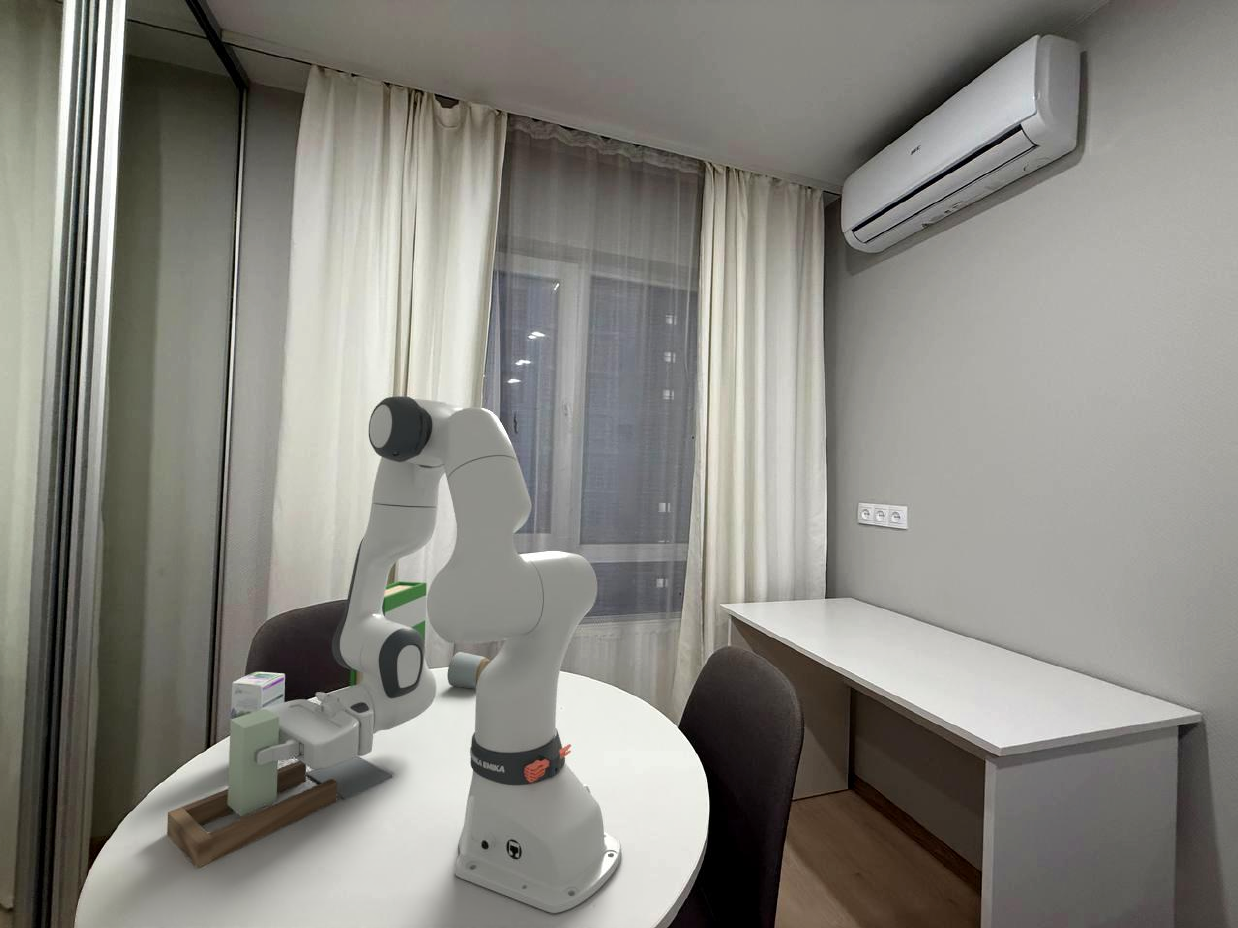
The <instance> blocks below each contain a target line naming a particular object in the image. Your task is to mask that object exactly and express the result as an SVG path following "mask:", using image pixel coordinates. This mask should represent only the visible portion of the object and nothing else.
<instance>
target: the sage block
mask: <svg viewBox="0 0 1238 928" xmlns="http://www.w3.org/2000/svg"><path fill="white" fill-rule="evenodd" d="M229 732H230V733H229V749H228V750H229V752H228V754H229V755H228V756H229V758H228V782H227V789H228V804H227V805H228V806H230V807H231V808H232V809H233V810H234V811H235V812H234V813H236V814H238V815H239V816H240V817H243V816H245V815H247V814H250V813H251V812H255V811H256V810H259V809H261V808H263V807H266V806H268V805H269V804H273V803H274V802H276V801H277V795H278V793H277V769H279V768H278V765H279V764H278V763H279V762H278V761H271V762H268V763H266V764H263V765H259V764H258V763H256V762H255V761H254V757H255V756H254V753H255V751H256V750H257V749H260V748H263V747H265V746H270V747H272V746H276V745H278V740H279V716H277V715H275V714H273V713H272V712H270V711H268V710H266V709H263V710H260V711H257V712H254V713H250V714H247V715H244V716H241V717H237V718H234V719H231V718H230V728H229Z"/></svg>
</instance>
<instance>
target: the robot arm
mask: <svg viewBox="0 0 1238 928" xmlns="http://www.w3.org/2000/svg"><path fill="white" fill-rule="evenodd" d="M368 438H369V443H370V445H371V446H372V448H373V450H374V452H375V453H376V454H377V455H378V456H379V457H380V460H379V464H378V467H377V472H376V475H375V480H374V484H373V489H372V497H371V503H370V504H371V506H370V512H369V517H368V518H369V519H368V523H367V526H366V529H365V533H364V536H362V539H361V540H360V543H359V546H358V549H357V553H356V557H355V560H354V564H353V565H354V566H353V568H352V569H353V570H352V575H351V580H350V584H349V589H348V592H347V593H348V594H347V599H346V603H345V608H344V611H343V614H342V616H341V618H340V619H339V622H338V625H337V627H336V629H335V632H334V633H333V636H332V640H331V652H332V653H331V654H332V655H333V659H334V660H335V661H336V663H337V664H338V665H339V666H341V667H343V668H345V669H349V670H350V671H351V670H355V671H359V672H361V673H363V680H362V682H361V683H359V684H357V685H354V686H350V685H349V686H348V687H344V688H341V689H338V690H335V691H331V692H328V693H326V694H327V695H325V697H324V698H323V700H322V702H321V701H320V702H321V703H320V704H319V703H317V702H312V701H311V700H308V699H304V698H301V699H299V698H298V699H294V700H288V701H284V703H280V704H276V705H272V706H268V707H265V708H262V709H261V710H263V709H266V710H268V711H270V712H272V713H273V714H275V715H277V716H279V740H278V745H276V746H272V747H270V746H265V747H263V748H260V749H257V750H256V751H255V753H254V756H255V757H254V761H255V762H256V763H258V764H259V765H263V764H266V763H268V762H271V761H286V760H287V761H289V760H291V759H293V758H295V759H296V760H297V761H301V762H302V763H304V764H306V767H309V768H310V769H311V770H314V769H315V770H316V769H326V768H329V767H332V766H335V765H337V764H340V763H342V762H345V761H347V760H350V759H352V758H354V757H355V756H356V755H357V756H359V757H362V756H366V755H367V754H370V753H371V752H373V751H372V750H373V741H374V734H375V733H377V732H379V731H385V730H390V729H393V728H396V727H398V726H400V725H403V724H405V723H407V722H409V721H412V720H413V719H415V718H417V717H419V716H420V715H422V714H423V713H424V712H426V711H427V709H429V708H430V706H432V704H433V702H434V700H435V698H436V694H437V680H436V676H435V675H434V673H433V671H431V669H430V668H429V667H428V665H427V662H426V657H425V654H426V653H425V652H426V646H425V645H426V643H425V644H424V640H423V638H422V636H421V634H420V633H419V632H418V631H417V630H415V629H413V628H410V627H407V626H405V625H402V624H399V623H395V622H392V621H389V620H386V618H385V617H384V615H383V612H382V605H383V600H384V595H385V590H386V585H388V579H389V574H390V571H391V569H392V568H393V566H394V565H395V563H396V562H398V561H399V560H400V559H401V558H404V557H407V556H409V555H412V554H414V553H416V552H419V550H421V549H422V548H423V547H425V546H426V545H427V544H428V543H429V542H430V541H431V539H432V537H433V534H434V533H435V529H436V526H437V525H436V524H437V519H438V518H437V517H438V508H439V506H438V505H439V489H440V481H441V479H442V477H443V476H444V474H445V478H446V481H447V485H448V489H449V492H450V493H449V494H450V497H451V501H452V506H453V511H454V517H455V521H456V522H455V523H456V541H455V545H454V548H453V552H452V554H451V556H450V558H449V560H448V561H447V563H446V564H445V566H443V568H441V569H440V571H438V573H437V574H436V576H435V577H434V578H433V581H431V584H430V586H429V590H428V593H427V595H426V612H427V613H426V614H427V616H428V621H429V623H430V625H431V627H432V629H433V630H434V631H435V633H436V634H437V635H438V636H439V637H440V638H441V639H442V640H443V641H445V642H447V643H450V644H485V643H486V644H487V643H490V642H494V641H499V640H503V639H505V642H504V644H503V646H502V647H501V649H500V651H499V653H497V655H496V656H495V657H494V658H493V659H492V660H491V661H490V663H489V664H488V665H487V666H486V667H485V668H484V670H483V671H482V673H481V674H480V676H479V679H478V682H477V686H476V689H475V714H474V715H475V716H474V717H475V718H474V732H473V734H472V736H471V743H470V744H471V745H470V747H469V754H470V755H469V756H470V763H469V764H470V767H471V769H472V775H471V780H470V785H469V786H470V787H469V791H468V796H467V801H466V807H465V814H464V815H465V816H464V822H463V827H462V828H463V829H462V831H461V834H460V837H459V841H458V842H459V843H458V847H459V849H458V850H459V853H458V854H459V855H458V857H457V859H456V862H455V868H454V874H455V875H456V877H458V878H460V879H462V880H464V881H465V880H466V881H467V882H471V883H472V884H476V885H477V886H480V887H483V888H485V889H488V890H491V891H493V892H496V893H498V894H500V895H503V896H507V897H509V898H510V899H513V900H516V901H519V902H521V903H525V904H527V905H529V906H531V907H535V908H536V909H540V910H541V911H545V912H548V913H550V914H557V913H561V912H565V911H567V910H570V909H573V908H574V907H576V906H578V905H580V904H582V903H583V902H585V901H586V900H587V899H589V898H590V897H591V896H593V895H594V894H595V893H596V892H598V890H599V889H600V888H602V886H603V885H604V884H605V883H606V882H607V881H608V880H609V879H610V878H611V877H612V875H613V874H614V873H615V871H616V869H617V867H618V866H619V863H620V861H621V857H622V845H621V842H620V841H619V840H618V839H616V837H614V836H613V835H611V834H610V833H608V832H607V831H606V830H605V829H604V828H605V827H604V820H603V819H604V818H603V814H602V810H601V807H600V805H599V802H598V801H597V800H596V799H595V797H594V796H592V794H591V790H590V789H589V786H588V785H587V784H585V783H582V781H580V779H579V778H578V776H577V775H576V774H575V773H574V771H572V769H571V768H570V767H569V766H568V765H567V762H566V756H568V755H569V754H570V753H571V750H569V749H570V748H571V747H572V745H571V744H570V743H569V744H567V745H566V746H564V747H563V744H562V742H561V738H560V734H559V731H558V729H557V728H556V725H557V724H556V721H557V720H556V719H557V717H556V716H557V697H558V685H559V684H558V683H559V677H560V671H561V667H562V665H563V660H564V657H565V655H566V651H567V649H568V646H569V644H570V641H571V640H572V637H573V634H574V633H575V631H576V629H577V627H578V626H579V624H580V623H581V622H582V619H583V618H584V617H585V616H586V615H587V614H588V612H590V611H591V610H592V608H593V606H594V604H595V602H596V599H597V595H598V580H597V576H596V572H595V570H594V568H593V566H592V565H591V563H590V562H589V560H588V559H586V558H585V557H584V556H582V555H580V554H577V553H573V552H572V553H571V552H566V551H559V550H549V551H547V550H546V551H538V552H530V553H529V552H527V553H518V552H517V550H516V546H515V542H514V534H515V533H517V531H518V530H520V529H521V528H522V527H523V526H524V525H525V524H526V523H527V521H528V519H529V517H530V515H531V511H532V501H531V497H530V494H529V491H528V487H527V485H526V484H527V483H526V482H525V478H524V474H523V472H522V469H521V465H520V463H519V460H518V457H517V453H516V452H515V449H514V447H513V444H512V442H511V440H510V438H509V435H508V434H507V432H506V430H505V428H504V426H503V424H502V422H501V421H500V419H499V418H498V416H497V415H496V414H495V413H494V412H492V411H490V410H489V409H486V408H483V407H474V406H473V407H472V406H471V407H466V408H463V407H460V406H457V405H451V404H448V403H446V402H442V401H437V400H430V399H429V400H428V399H421V398H420V399H418V398H412V397H410V396H402V395H401V396H400V395H399V396H398V395H397V396H389V397H385V398H384V399H382V400H381V401H380V402H379V403H378V404H377V405H376V406H375V407H374V409H373V410H372V413H371V415H370V419H369V423H368ZM259 711H260V710H259Z"/></svg>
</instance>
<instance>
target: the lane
mask: <svg viewBox="0 0 1238 928" xmlns="http://www.w3.org/2000/svg"><path fill="white" fill-rule="evenodd" d="M306 772H307V765H306V764H304V763H302V762H301V761H299V760H297V761H295V762H294V761H293V762H292V763H290V764H287V765H284V766H282V767H279V768H278V769H277V794H279V793H282V792H283V791H286V790H289V789H291V788H293V787H295V786H298V785H300V784H302V783H305V782H306V781H307V780H306V779H307V778H306V776H307V775H306ZM337 798H338V795H337V781H335V780H333V779H330V780H328V781H325V782H323V783H321V784H320V783H318V784H317V785H314V786H312V787H309V788H307V789H305V790H303V791H301V792H298V793H297V794H294V795H292V796H289V797H287V798H284V799H282V800H280V801H278V802H276V803H274V804H273V803H272V804H271V805H269V806H265V808H262V809H260V810H257V811H254V812H253V813H251V814H250V813H249V815H246V816H244V817H241V818H239V819H236V820H235V821H232V822H230V823H228V824H225V825H224V826H223V825H222V826H221V827H219V828H217V829H214V830H212V831H210V832H208V831H207V830H205V828H204V827H203V826H204V825H206V824H209V823H211V822H214V821H215V820H218V819H220V818H223V817H226V816H228V815H229V814H232V813H236V812H235V811H234V810H233V809H232V808H231V807H230V806H228V805H227V804H228V788H226V789H224V790H221V791H218V792H215V793H213V794H211V795H208V796H205V797H203V798H201V799H198V800H195V801H192V802H190V803H188V804H185V805H182V806H180V807H178V808H175V809H172V810H169V811H168V812H167V826H166V834H167V836H168V837H169V839H170V840H171V841H172V842H173V843H174V844H175V845H176V847H178V849H180V851H181V852H182V853H183V854H184V855H185V856H186V857H187V859H188V860H189V861H190V862H191V863H192V864H193V865H194V866H195V868H196V869H199V868H201V867H203V866H205V865H207V864H210V863H212V862H214V861H217V860H218V859H220V858H222V857H225V856H226V855H228V854H230V853H233V852H235V851H238V850H239V849H241V848H243V847H246V846H247V845H249V844H251V843H253V842H255V841H257V840H260V839H262V838H264V837H266V836H268V835H270V834H272V833H274V832H277V831H279V830H281V829H283V828H285V827H288V826H289V825H291V824H293V823H295V822H297V821H300V820H301V819H304V818H305V817H308V816H310V815H312V814H314V813H317V812H318V811H320V810H323V809H324V808H326V807H329V806H331V805H334V804H335V803H337V801H338V800H337ZM227 814H228V815H227Z"/></svg>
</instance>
